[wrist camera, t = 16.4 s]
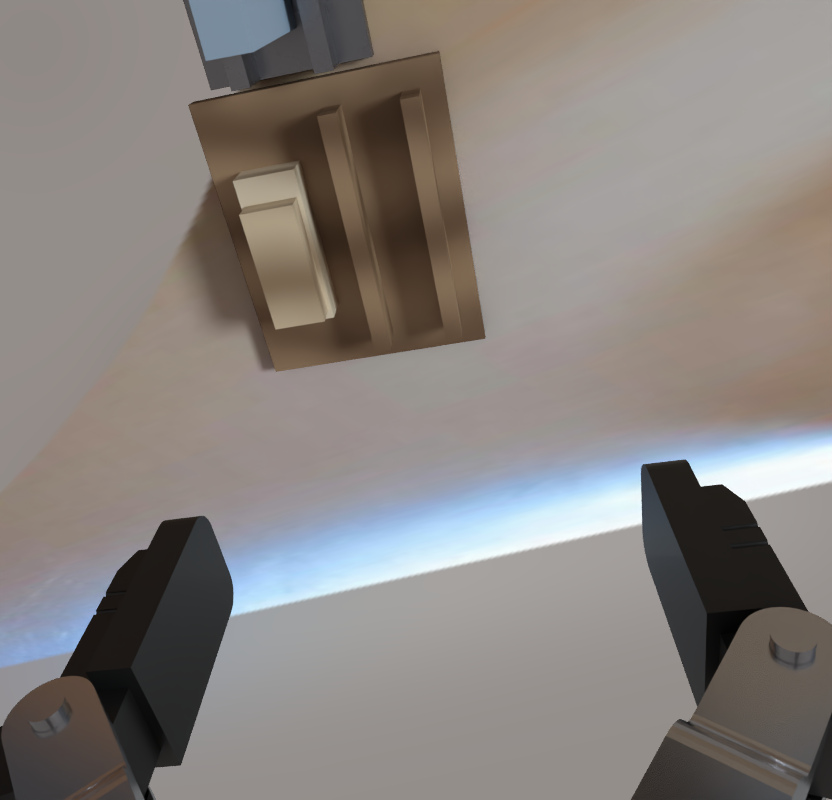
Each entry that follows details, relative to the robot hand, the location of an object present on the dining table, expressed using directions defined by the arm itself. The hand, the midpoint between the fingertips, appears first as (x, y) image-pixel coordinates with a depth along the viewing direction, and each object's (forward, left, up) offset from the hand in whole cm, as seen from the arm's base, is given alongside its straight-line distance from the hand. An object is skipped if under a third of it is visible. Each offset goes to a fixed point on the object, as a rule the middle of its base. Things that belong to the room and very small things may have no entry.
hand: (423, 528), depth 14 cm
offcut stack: (+4, -10, -33) cm, 34 cm away
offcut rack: (+4, -6, -34) cm, 35 cm away
